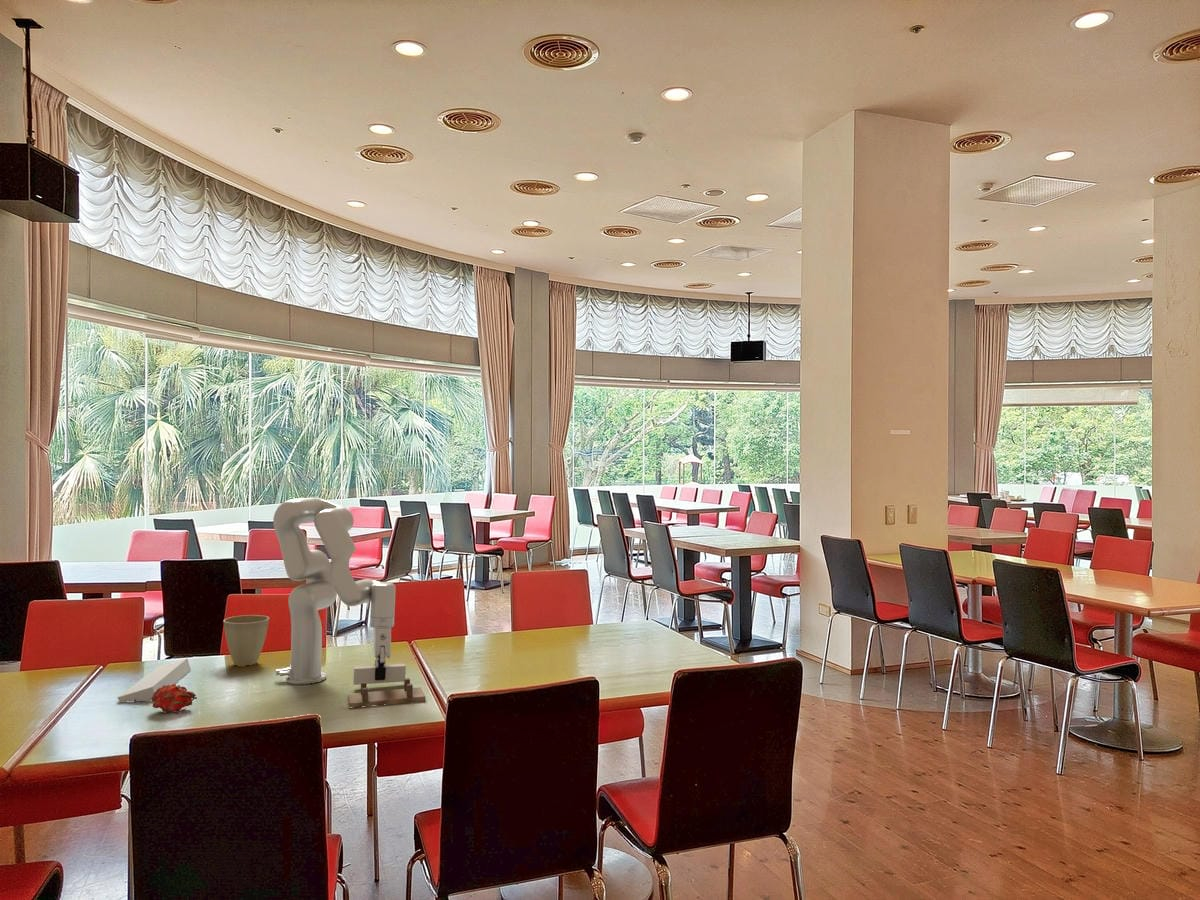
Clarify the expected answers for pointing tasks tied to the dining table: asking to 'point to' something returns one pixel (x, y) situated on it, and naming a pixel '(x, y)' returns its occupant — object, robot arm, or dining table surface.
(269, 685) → the dining table surface
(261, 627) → the plant pot
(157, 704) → the dragon fruit
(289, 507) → the robot arm
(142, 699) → the white wedge ramp
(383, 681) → the clay strip
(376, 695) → the plank with four pegs
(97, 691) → the dining table surface
